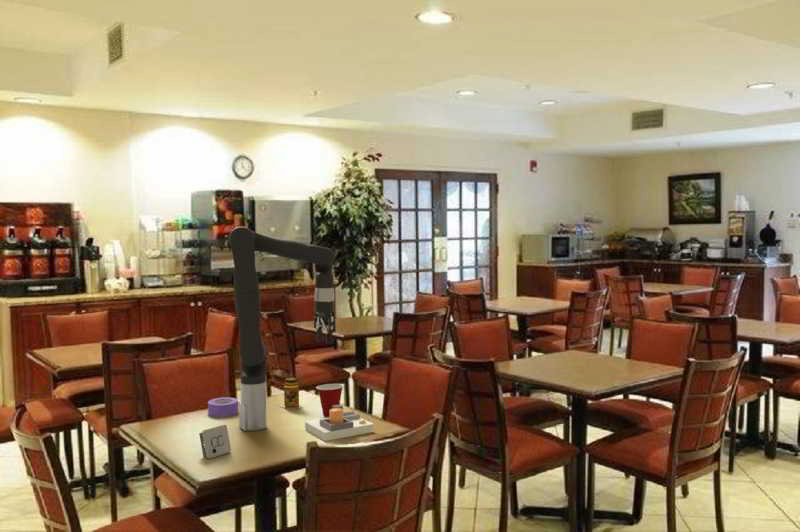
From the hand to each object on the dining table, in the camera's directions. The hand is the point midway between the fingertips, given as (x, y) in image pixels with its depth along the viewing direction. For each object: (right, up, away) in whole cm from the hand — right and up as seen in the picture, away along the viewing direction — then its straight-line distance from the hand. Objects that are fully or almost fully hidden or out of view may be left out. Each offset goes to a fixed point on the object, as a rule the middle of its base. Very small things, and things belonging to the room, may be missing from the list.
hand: (324, 341), depth 261 cm
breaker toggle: (+6, -28, -6) cm, 30 cm away
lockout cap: (+6, -29, -15) cm, 33 cm away
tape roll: (-42, -31, +14) cm, 54 cm away
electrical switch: (-32, -34, -36) cm, 59 cm away
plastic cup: (+1, -31, +12) cm, 33 cm away
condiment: (-17, -30, +24) cm, 42 cm away
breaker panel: (+7, -32, -10) cm, 34 cm away
